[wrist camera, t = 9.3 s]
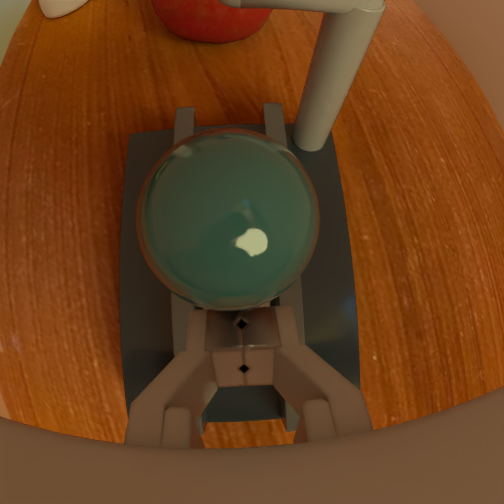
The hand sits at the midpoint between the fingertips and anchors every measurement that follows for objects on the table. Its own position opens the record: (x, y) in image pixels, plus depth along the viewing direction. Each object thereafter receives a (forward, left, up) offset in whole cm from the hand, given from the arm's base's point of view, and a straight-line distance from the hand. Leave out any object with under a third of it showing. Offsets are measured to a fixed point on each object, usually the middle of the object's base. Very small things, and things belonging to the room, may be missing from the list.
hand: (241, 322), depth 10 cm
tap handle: (0, +2, -5) cm, 6 cm away
